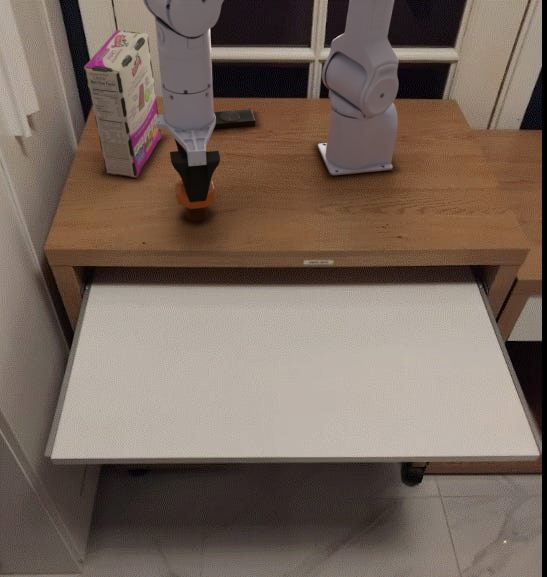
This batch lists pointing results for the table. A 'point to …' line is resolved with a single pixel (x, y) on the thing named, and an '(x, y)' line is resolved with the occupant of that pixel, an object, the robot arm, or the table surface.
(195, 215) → the brown cylinder with stem
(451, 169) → the table surface
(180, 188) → the ring
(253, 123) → the hob plate
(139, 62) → the candy bar box
